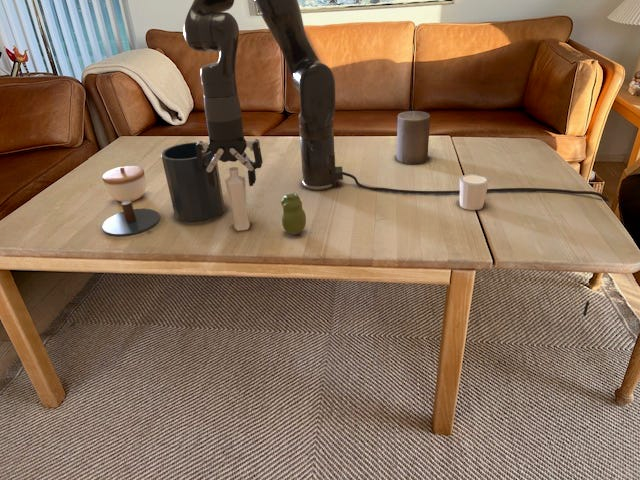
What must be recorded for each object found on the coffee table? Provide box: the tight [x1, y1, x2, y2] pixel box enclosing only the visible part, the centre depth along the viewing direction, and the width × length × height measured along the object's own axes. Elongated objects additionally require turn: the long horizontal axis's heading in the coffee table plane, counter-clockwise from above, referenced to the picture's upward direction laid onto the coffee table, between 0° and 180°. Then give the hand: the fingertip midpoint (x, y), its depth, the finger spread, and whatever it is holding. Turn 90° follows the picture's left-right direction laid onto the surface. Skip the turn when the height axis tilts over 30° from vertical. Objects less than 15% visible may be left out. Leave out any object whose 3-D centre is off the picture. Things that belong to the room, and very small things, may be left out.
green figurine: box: [280, 192, 307, 235], centre depth 109 cm, size 6×5×10 cm
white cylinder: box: [459, 173, 490, 211], centre depth 118 cm, size 7×7×7 cm
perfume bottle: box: [224, 166, 251, 232], centre depth 112 cm, size 5×4×15 cm
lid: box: [101, 201, 161, 237], centre depth 118 cm, size 14×14×6 cm
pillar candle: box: [396, 110, 431, 165], centre depth 145 cm, size 10×10×15 cm
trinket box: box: [101, 165, 147, 203], centre depth 131 cm, size 11×11×9 cm
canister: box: [160, 141, 226, 224], centre depth 119 cm, size 13×13×17 cm
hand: (233, 185), depth 110 cm, fingers open, 8 cm apart
